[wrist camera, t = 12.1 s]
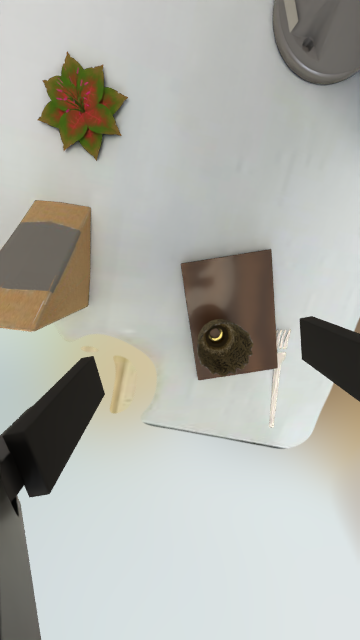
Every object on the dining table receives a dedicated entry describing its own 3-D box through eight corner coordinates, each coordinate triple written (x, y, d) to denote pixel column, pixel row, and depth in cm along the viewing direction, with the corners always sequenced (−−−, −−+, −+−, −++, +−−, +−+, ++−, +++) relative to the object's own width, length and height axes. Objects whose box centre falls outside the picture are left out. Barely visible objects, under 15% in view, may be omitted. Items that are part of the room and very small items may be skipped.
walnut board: (267, 249, 35) (271, 249, 34) (274, 364, 40) (278, 368, 38) (180, 263, 35) (180, 263, 34) (197, 376, 40) (198, 380, 39)
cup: (246, 331, 37) (265, 348, 29) (215, 362, 38) (225, 386, 30) (214, 301, 36) (225, 311, 28) (183, 334, 37) (185, 352, 29)
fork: (261, 425, 43) (265, 432, 42) (269, 326, 39) (274, 329, 37) (278, 425, 43) (282, 432, 42) (288, 326, 39) (293, 329, 37)
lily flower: (25, 126, 31) (0, 102, 26) (63, 35, 29) (43, -8, 24) (102, 179, 32) (91, 165, 28) (144, 97, 30) (139, 67, 26)
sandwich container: (92, 206, 33) (28, 159, 19) (89, 306, 37) (34, 333, 22) (33, 198, 33) (-80, 144, 18) (36, 300, 36) (-56, 323, 22)
